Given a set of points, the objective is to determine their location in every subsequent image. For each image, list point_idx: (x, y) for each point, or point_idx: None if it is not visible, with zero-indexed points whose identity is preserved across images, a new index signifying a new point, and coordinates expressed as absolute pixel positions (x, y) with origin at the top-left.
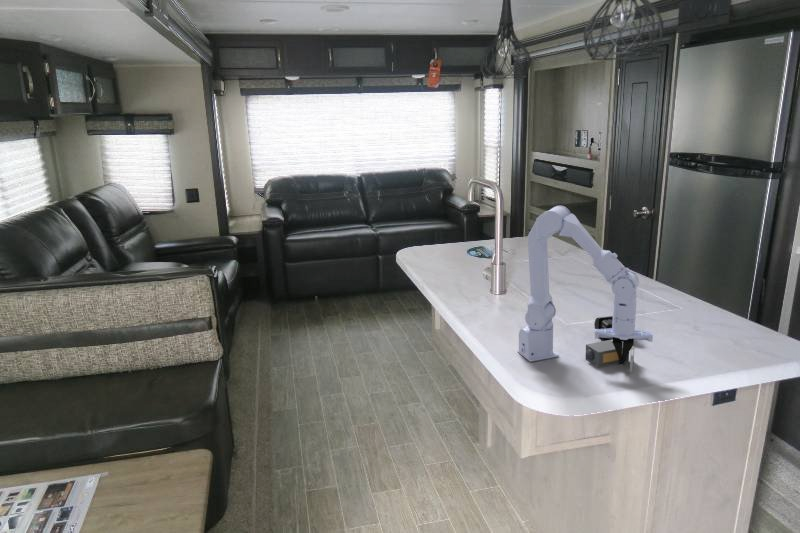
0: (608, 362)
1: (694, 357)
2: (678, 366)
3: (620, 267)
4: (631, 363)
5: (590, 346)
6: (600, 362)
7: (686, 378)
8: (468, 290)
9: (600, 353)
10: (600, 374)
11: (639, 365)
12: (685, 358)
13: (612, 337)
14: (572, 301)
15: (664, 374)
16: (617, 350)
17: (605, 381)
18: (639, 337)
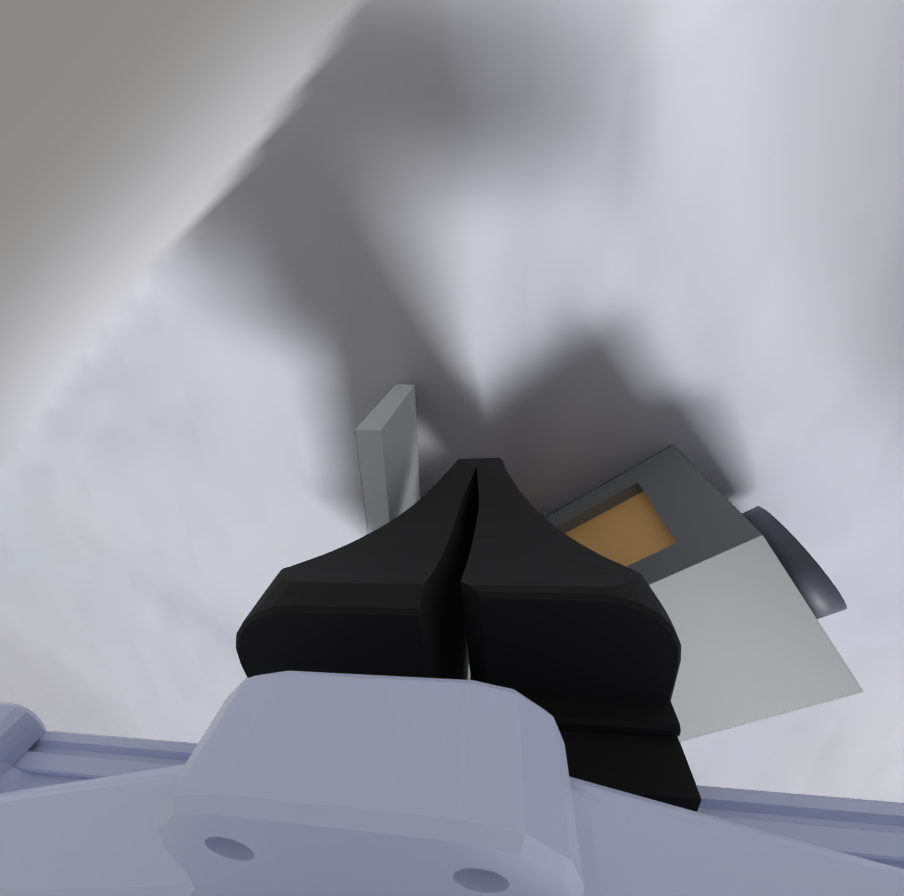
0: (586, 511)
1: (137, 657)
2: (163, 560)
3: None
4: (378, 416)
5: (822, 656)
6: (669, 476)
7: (60, 413)
8: None
9: (722, 534)
10: (673, 302)
11: (367, 534)
12: (167, 644)
13: (685, 805)
14: None
15: (194, 439)
16: (539, 528)
17: (643, 128)
18: (15, 810)
